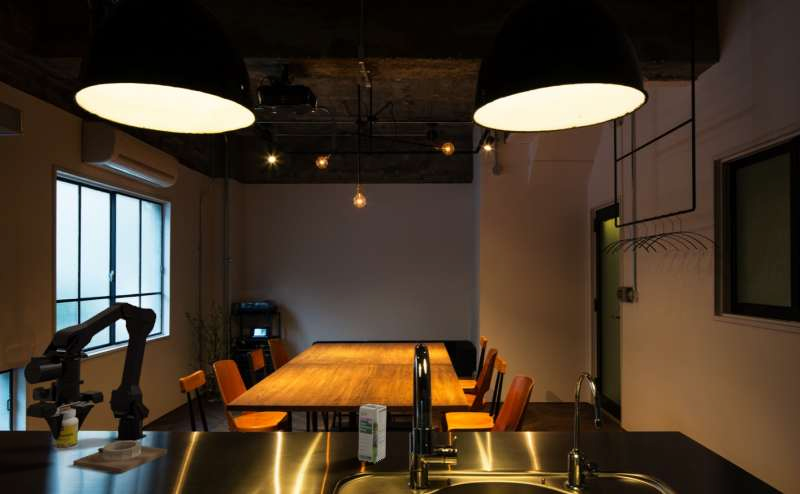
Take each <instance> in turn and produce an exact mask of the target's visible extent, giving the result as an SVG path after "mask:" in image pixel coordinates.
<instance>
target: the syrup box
mask: <svg viewBox="0 0 800 494" xmlns="http://www.w3.org/2000/svg"><path fill="white" fill-rule="evenodd" d="M358 409H359V410H358V411H359V412H358V413H359V417H358V418H359V419H358V455H357V456H358V459H359V460H358V461H362V460H363V461H362V462H367V461H368V462H367V463H371V462H373V463H372V464H377V463H379V462H380V461H382V460H383V459H385V458H386V446H387V445H386V443H387V442H386V439H387V437H386V435H387V432H386V430H387V405H380V404H374V403H373V404H372V403H366V404H363V405H361V406H360V407H359V408H358ZM381 459H382V460H381ZM379 460H380V461H379ZM378 461H379V462H378ZM376 462H377V463H376Z"/></svg>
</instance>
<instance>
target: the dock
mask: <svg viewBox="0 0 800 494" xmlns="http://www.w3.org/2000/svg"><path fill="white" fill-rule="evenodd" d="M167 454H168V449H167V448H160V447H159V448H158V447H152V446H145V445H142V443H141V442H140V441H139V440H135V441H133V440H132V441H131V440H129V441H118V440H117V441H114V442H110V443H109V444H105V445H104V446H103V447H99V448H98V449H97V452H94V453H91V454H88V455H86V456H84V457H80V458H77V459H75V460H73V461H72V462H73V466H74V467H79V468H85V469H91V470H97V471H102V472H108V473H109V472H110V473H112V474H113V473H115V474H120V475H121V474H125V473H126V472H128V471H131V470H133V469H135V468H137V467H140V466H142V465H144V464H147V463H149V462H153V461H154V460H156V459H159V458H162V457H164V456H166V455H167Z"/></svg>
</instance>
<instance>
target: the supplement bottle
mask: <svg viewBox="0 0 800 494" xmlns="http://www.w3.org/2000/svg"><path fill="white" fill-rule="evenodd" d="M60 414H64V416H63V421H62V426H61V431H60V435H59V438H58V439H54V438H53V449H54V450H55V451H67V450H72V449H75V448H77V446H78V441H79V440H78V437H79V435H78V434H79V431H78V418H76V417H75V415H76V410H75V409H71V408H62V409H60Z"/></svg>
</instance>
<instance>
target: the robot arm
mask: <svg viewBox="0 0 800 494" xmlns="http://www.w3.org/2000/svg"><path fill="white" fill-rule="evenodd" d="M119 320H123V321H125V329H126V332H127V334H128V341H127V348H126V353H125V359H124V364H123V365H124V366H123V371H122V374H121V375H122V376H121V382H120V384H119V386H118V387H117V388H116V389H112V391H111V392H110V393H111V394H110V395H111V396H110V400H109V403H108V404H109V405H110V407H109V408H110V410H111V412H112V414H113V418H114V419H118V426H117V437H115V438H114V441H117V442H118V441H129V440H131V441H132V440H133V441H139V440H140V439H144V438H146V437H147V436H148V435H147V434H145V433H143V431H144V429H143V427H144V420H145V419H147V418H148V417H149V415H150V410H149V409H150V408H148V407H147V406H146V405H145V404H144V403H143V399H144V398H143V396H144V395H143V392H142V389H141V386H140V380H141V374H142V369H143V362H144V357H145V350H146V344H147V339H148V337H149V336H150V334H151V333H152V332H153V330H154V328H155V324H156V322H157V313H156V312H155V310H154V309H153V308H148V307H141V306H137V305H133V303H132V304H131V303H129V302H124V301H122V302H121V301H116V302H113V303H112V304H111V305H110V306H108V307H106V308H105V309H103V310H101V311H100V312H98V313H97V314H95V315H93V316H92V317H90V318H88V319H87V320H85V321H82V322H81V323H78V324H75V325H70V326H67V327H64V328H61V329H58V330H57V331H56V332H55V333H54V334H53V337H52V339H51V341H50V342H49V344H48V346H47V347H46V348H45V350H44V351H43V353H42V355H40V356H38V355H36V356H35V355H33V356H30V362H28V363H27V364H26V365H25V368H24V369H23V376H24V379H25V381H26V382H27V384H30V385H36V384H42V383H46V382H51V383H50V387H48V388H45V387H44V386H38V387H35V388H33V389H32V394H31V395H32V400H33V401H35V403H31V404H29V405H28V407H26V413H25V414H26V417H32V418H36V419H37V418H38V419H44V420H45V421H46V423H47V425H48V427H49V429H50V432H51V434H52V437H53V440H54V439H58V438H59V435H60V431H61V426H62V421H63V416H64V414H60V410H62V409H66V408H69V407H70V409H75V410H76V415H75V417H76V418H78V432H79V431H80V429H81V428H82V426H83V424H84V422H85V420H86V418H87V417H88V415H89V413H90V412H91V410H92V409H93V408H95V406H96V404H100V403H104V402H105V400H104V399H105V397H104V396H105V395H104V394H103V391H99V390H98V391H97V390H92V389H91V390H85V391H81V385H84V383H85V381H84V379H81V372H82V371H81V368H82V367H81V365H82V359H88V358H89V354H87V353H86V352H85V351H84V348H86V347H87V346H88V345H89V344H90V343H91V342H92V339H93V338H94V337H95V336H96V335H97V334H99V333H101V332H102V331H104V330H105V329H107V328H108V327H110V326H112V325H113V324H114V323H116V322H118V321H119ZM36 401H39V402H37V403H36ZM92 403H93V404H92Z"/></svg>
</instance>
